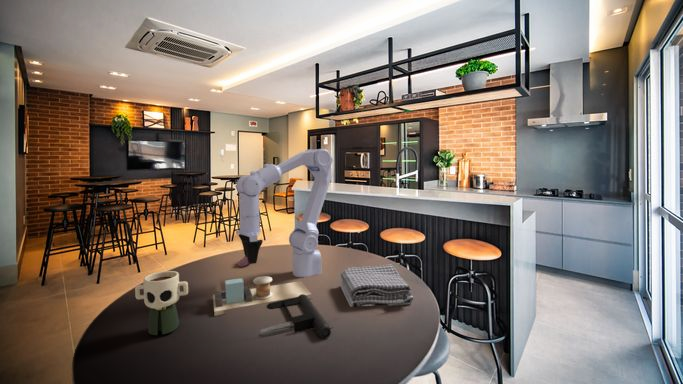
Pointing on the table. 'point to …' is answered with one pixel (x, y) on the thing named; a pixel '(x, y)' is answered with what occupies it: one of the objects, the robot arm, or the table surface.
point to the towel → (375, 286)
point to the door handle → (299, 318)
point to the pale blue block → (234, 291)
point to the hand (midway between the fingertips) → (250, 259)
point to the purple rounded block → (243, 262)
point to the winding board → (276, 296)
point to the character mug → (162, 300)
